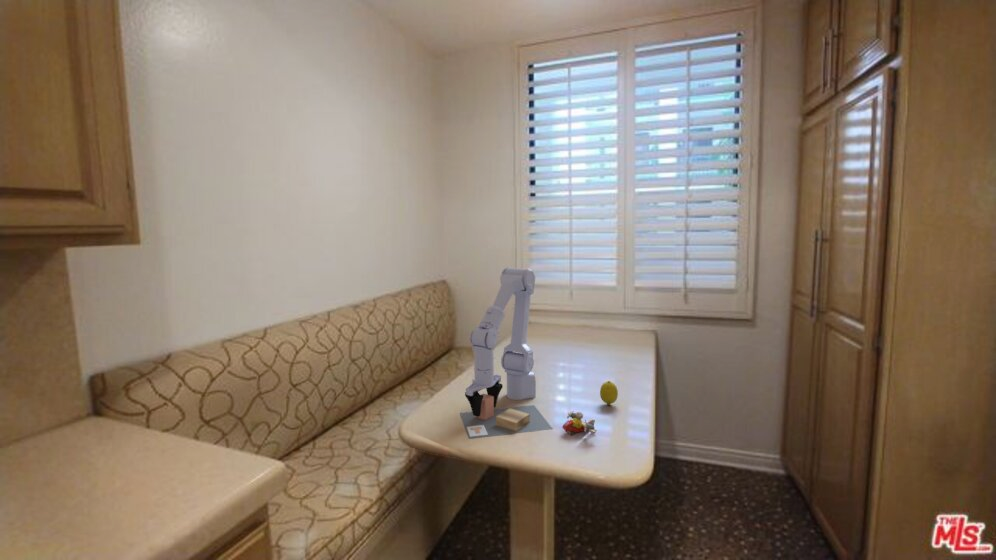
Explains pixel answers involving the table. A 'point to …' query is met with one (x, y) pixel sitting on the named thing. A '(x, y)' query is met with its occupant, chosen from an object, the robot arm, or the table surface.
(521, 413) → the slab
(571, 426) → the toy airplane
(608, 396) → the lemon
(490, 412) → the pillar
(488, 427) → the board
